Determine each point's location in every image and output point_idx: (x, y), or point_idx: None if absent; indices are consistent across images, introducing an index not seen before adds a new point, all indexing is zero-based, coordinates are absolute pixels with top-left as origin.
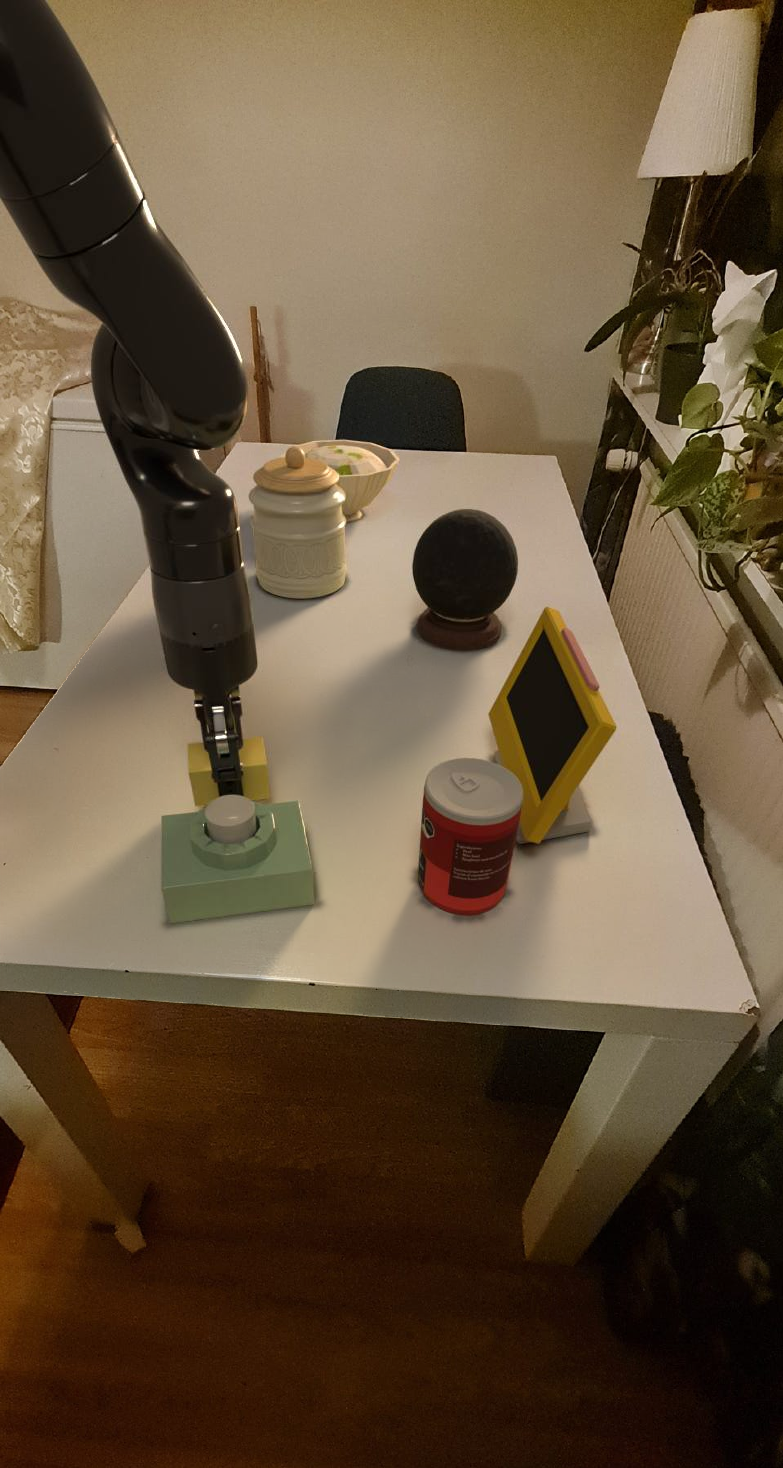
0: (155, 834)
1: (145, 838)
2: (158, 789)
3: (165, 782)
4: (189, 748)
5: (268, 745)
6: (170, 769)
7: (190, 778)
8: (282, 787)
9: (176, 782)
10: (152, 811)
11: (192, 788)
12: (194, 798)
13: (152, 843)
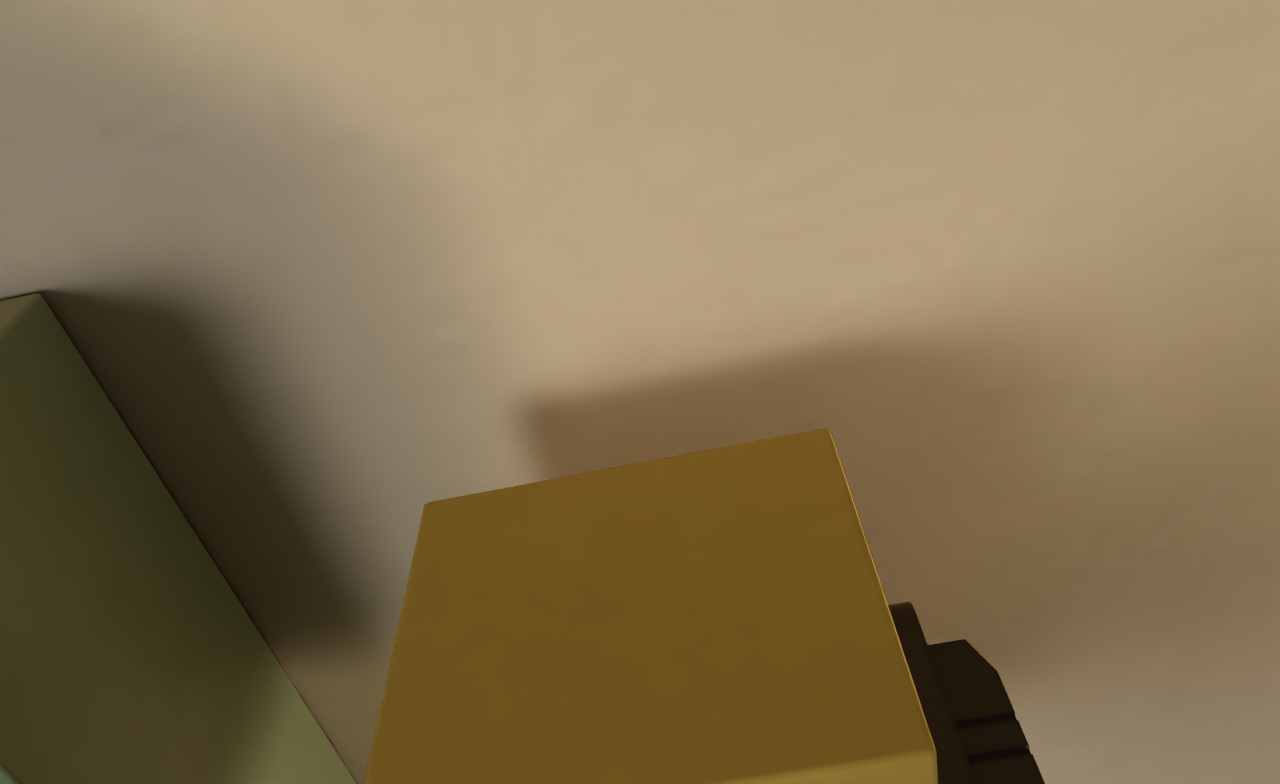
0: (204, 132)
1: (124, 54)
2: (861, 9)
3: (966, 55)
4: (833, 781)
5: (1267, 657)
6: (1172, 58)
7: (371, 768)
8: None
9: (950, 157)
10: (518, 28)
11: (395, 658)
12: (412, 569)
13: (82, 133)
